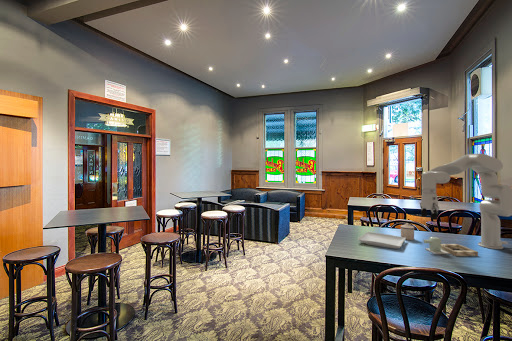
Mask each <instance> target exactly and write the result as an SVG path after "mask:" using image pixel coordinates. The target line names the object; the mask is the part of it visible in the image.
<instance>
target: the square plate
mask: <svg viewBox="0 0 512 341" xmlns="http://www.w3.org/2000/svg"><path fill="white" fill-rule="evenodd" d="M405 239H406V238H405V237H401V236H398V235H393V234H386V233H379V232H371V231H365V233H364V234H362V235H361V236H359V237H358V238H357V240H358V241H359V243H362V244H366V245H370V246H376V247H381V248H388V249H400V248H401V247H402V245H403V244H404V242H405V241H406V240H405Z"/></svg>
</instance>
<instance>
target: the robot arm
mask: <svg viewBox="0 0 512 341" xmlns="http://www.w3.org/2000/svg"><path fill="white" fill-rule="evenodd" d="M503 164H504V163H503V162H502V161H501V160H500V159H498V158H496V157H494V156H490V155H489V154H488V155H487V154H485V153H467V154H465V155H463V156H460V157H458V158H457V159H455V160H453V161H451V162H448V163H445V164H442V165H438V166H436V167H434V168H432V169H430V170H428V171H423V172H421V202H419V206H420V211H421V212H420V213H421V217H422V218H424V217H427V216H428V210H430V211H431V214H430V215H431V217H430V218H431V220H432V221H435V220H436V221H437V220H438V213H439V210H440V205H439V200H438V194H437V184H446V183H449V182H450V180H451V176H454V175H458V174H460V175H461V173H463V172H465V171H467V170H468V169H471V170H472V171H474V172H475V173H476V174H478V176H479V179H480V191H481V195H482V196H483V198H486V199H484V200H482V201H480V203H479V212H480V217H481V219H480V220H481V221H480V223H481V224H480V225H481V226H480V229H481V230H480V231H481V232H480V242H478V243H477V244H478V246H480V247H482V248H487V249H492V250H503V249H504V246H503V245H508V244H509V243H508V242H507V241H505V240H504V241H503V240H501V219H500V217H511V216H512V187H511V186H510V185H507V184H499V178H498V175H497V174H496V173H499V172H501V170H502V169H503V167H504V165H503ZM487 198H488V199H487ZM496 199H497V200H496ZM499 216H500V217H499Z"/></svg>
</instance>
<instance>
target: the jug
mask: <svg viewBox="0 0 512 341" xmlns="http://www.w3.org/2000/svg"><path fill="white" fill-rule="evenodd" d="M422 242H423V243H424V244H429V246H428V248H429V250H430V251H434V252H441V244H442V238H441V237H437V236H429V239H423V241H422ZM430 251H429V252H430Z"/></svg>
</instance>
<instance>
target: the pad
mask: <svg viewBox="0 0 512 341" xmlns="http://www.w3.org/2000/svg"><path fill="white" fill-rule="evenodd" d="M425 250H426V251H428V252H430V253H432V254H434V255H450V254H449V253H448V252H446V251H444V250H442V249H441V252H434V251H430V250H429V247H428V248H426V247H425Z"/></svg>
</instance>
